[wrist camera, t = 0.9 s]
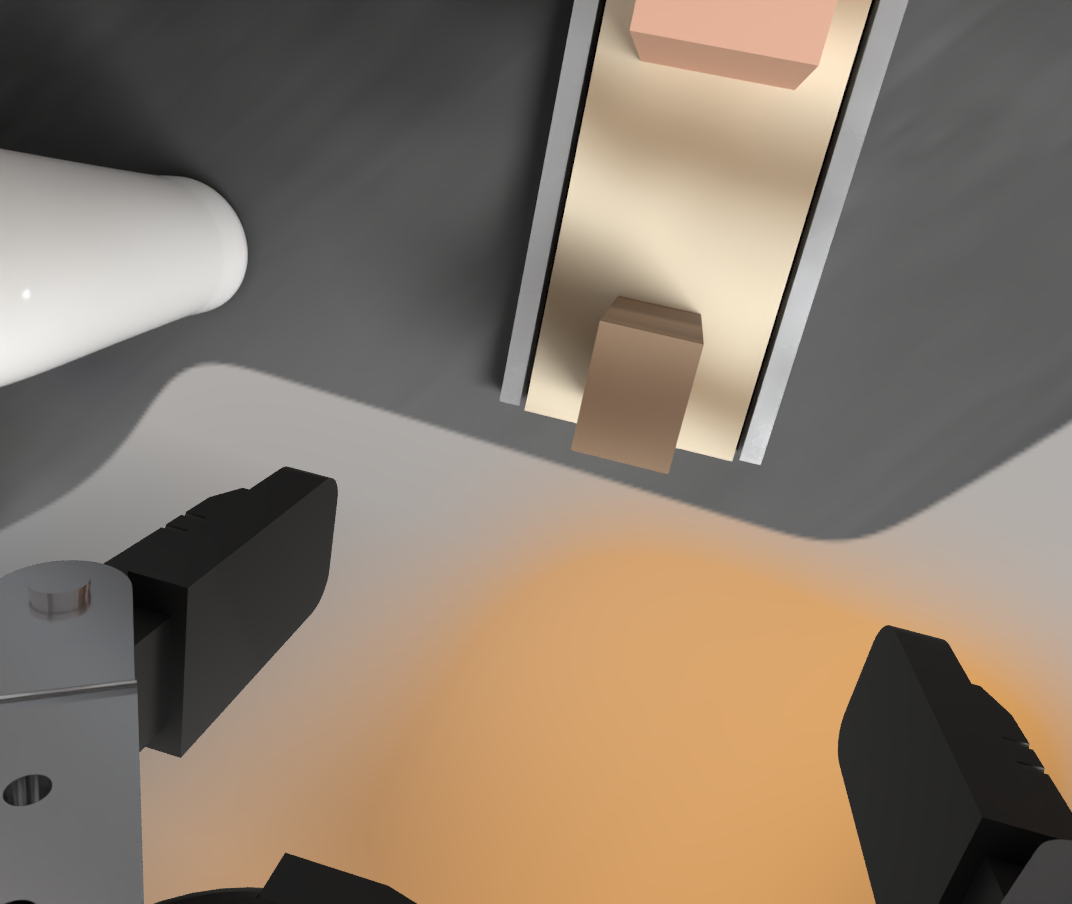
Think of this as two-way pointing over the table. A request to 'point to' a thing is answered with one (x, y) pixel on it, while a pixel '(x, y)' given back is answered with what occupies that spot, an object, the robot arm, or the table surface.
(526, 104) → the table surface
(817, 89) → the birch strip
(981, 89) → the table surface
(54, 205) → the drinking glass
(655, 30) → the terracotta block
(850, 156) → the guide rails
